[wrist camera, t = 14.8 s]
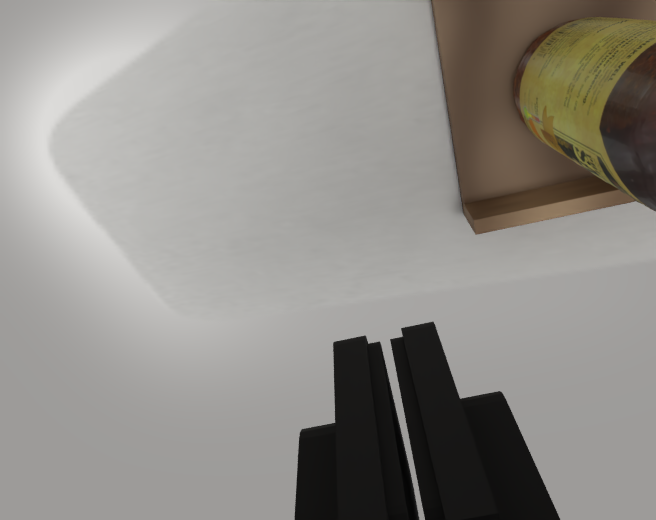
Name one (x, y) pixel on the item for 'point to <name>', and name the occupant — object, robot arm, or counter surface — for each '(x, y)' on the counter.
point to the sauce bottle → (596, 98)
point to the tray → (512, 111)
